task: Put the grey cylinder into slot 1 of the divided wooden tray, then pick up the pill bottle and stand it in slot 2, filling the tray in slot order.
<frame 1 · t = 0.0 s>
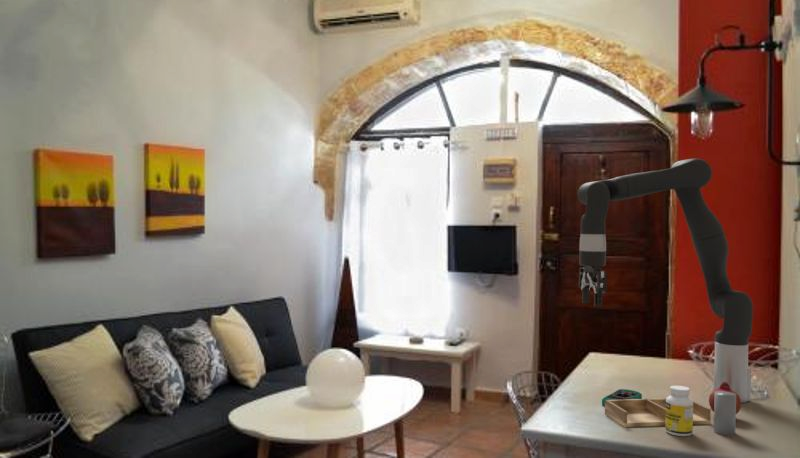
hand: (591, 304, 200), 29 cm above the table, fingers open, 8 cm apart
pill bottle: (678, 433, 173), on the table
grey cylinder: (724, 432, 174), on the table
fruit: (724, 418, 187), on the table
divided wooden tray: (656, 419, 185), on the table
digital multimeter: (622, 404, 202), on the table
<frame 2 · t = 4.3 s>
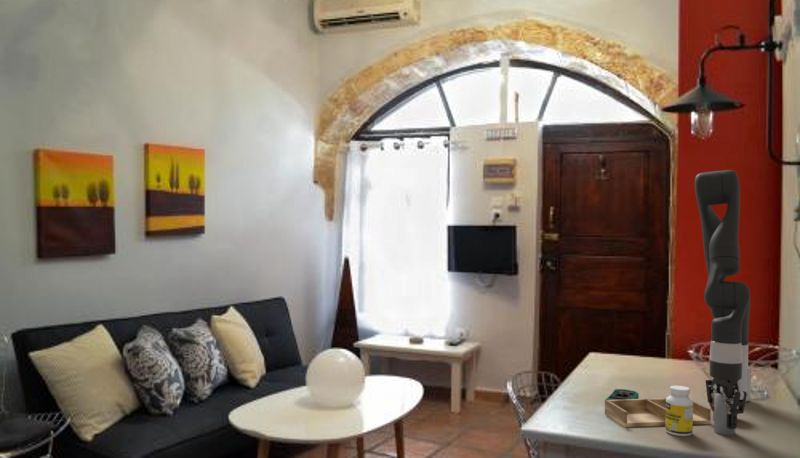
hand: (724, 425, 174), 2 cm above the table, fingers closed on grey cylinder, 5 cm apart
grey cylinder: (724, 432, 174), on the table, touching gripper
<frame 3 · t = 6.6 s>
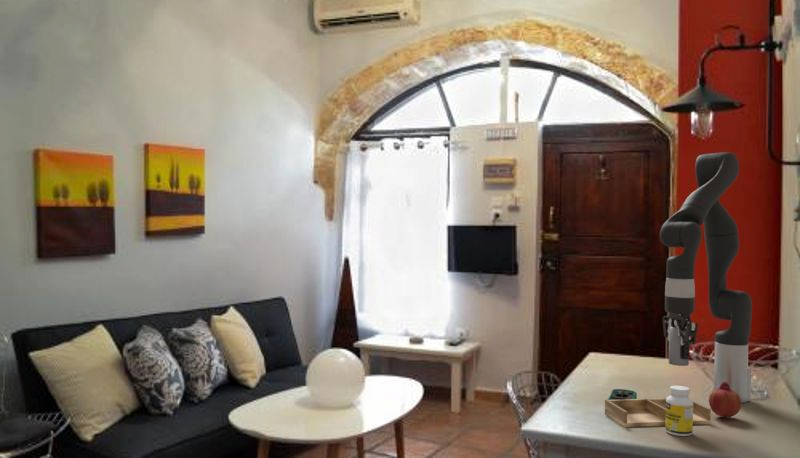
hand: (678, 356, 185), 17 cm above the table, fingers closed on grey cylinder, 5 cm apart
grey cylinder: (678, 363, 185), point 15 cm above the table, touching gripper
when the fingers open (4 cm above the table, at t = 9.3 s): grey cylinder drops 1 cm, resting on divided wooden tray.
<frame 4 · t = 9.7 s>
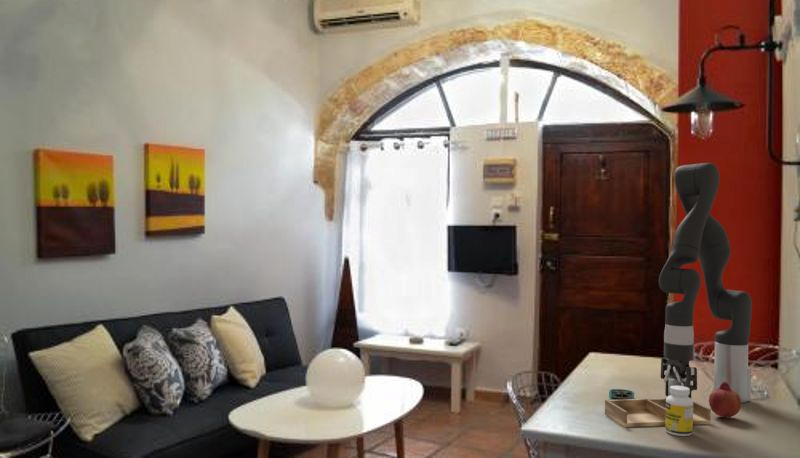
hand: (677, 400, 185), 5 cm above the table, fingers open, 8 cm apart
grey cylinder: (677, 415, 185), point 1 cm above the table, touching divided wooden tray
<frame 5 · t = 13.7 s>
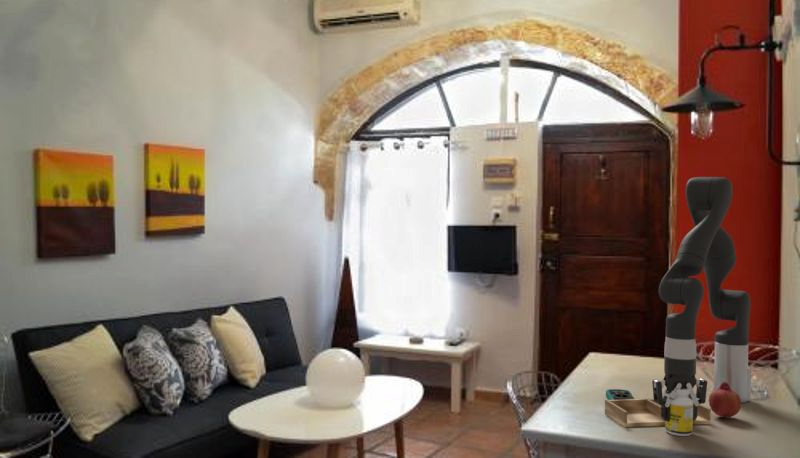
hand: (679, 420, 173), 3 cm above the table, fingers closed on pill bottle, 6 cm apart
pill bottle: (678, 433, 173), on the table, touching gripper
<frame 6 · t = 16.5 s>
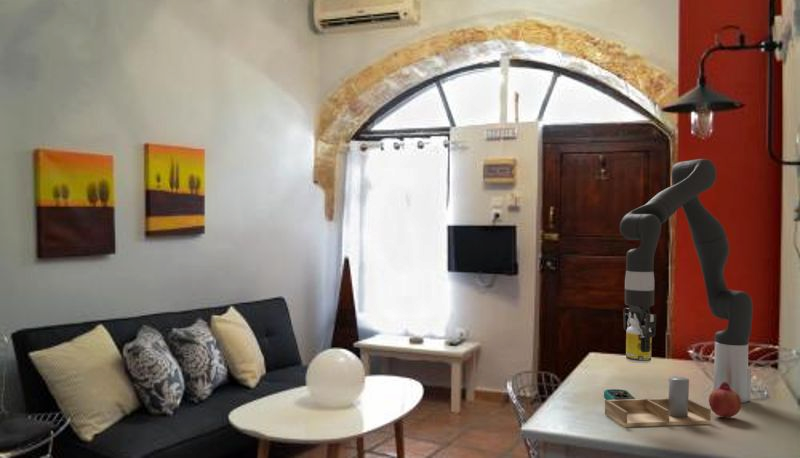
hand: (638, 349, 183), 19 cm above the table, fingers closed on pill bottle, 6 cm apart
pill bottle: (638, 362, 183), point 16 cm above the table, touching gripper
when the fingers open (6 cm above the table, at t = 19.6 s): pill bottle drops 1 cm, resting on divided wooden tray.
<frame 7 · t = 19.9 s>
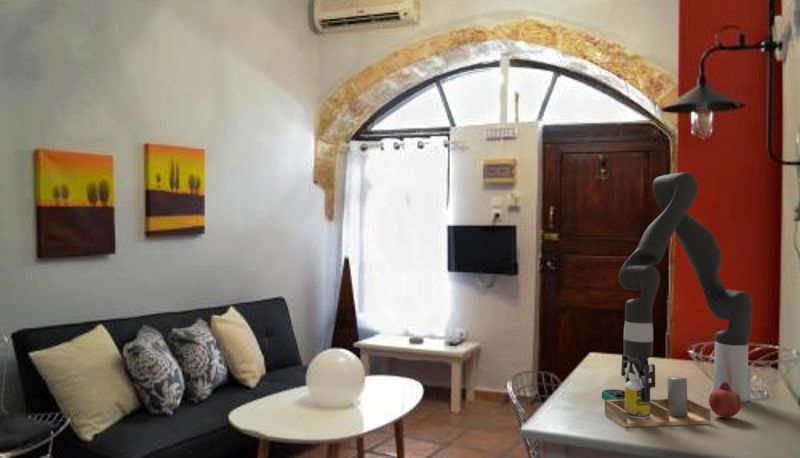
hand: (637, 397, 183), 6 cm above the table, fingers open, 8 cm apart
pill bottle: (637, 417, 184), point 1 cm above the table, touching divided wooden tray
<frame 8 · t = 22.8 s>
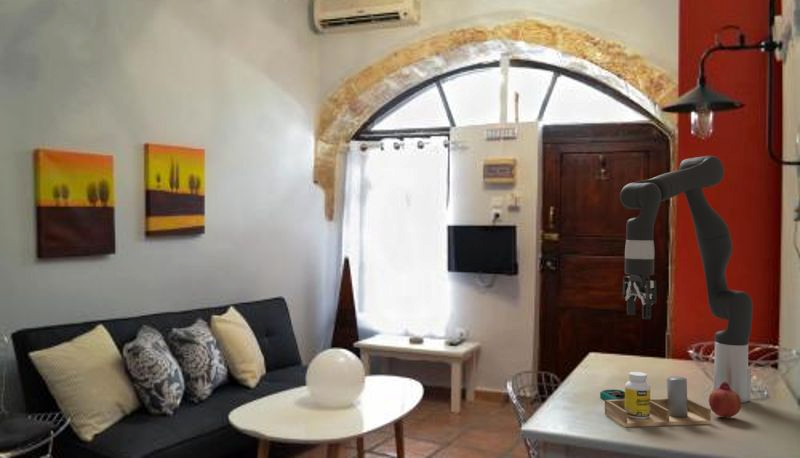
hand: (638, 316, 183), 28 cm above the table, fingers open, 8 cm apart
at the end: pill bottle inside the target area on the divided wooden tray (0.3 cm from its centre), point 0.8 cm above the divided wooden tray's base; pill bottle tilted 0°; grey cylinder inside the target area on the divided wooden tray (0.1 cm from its centre), point 1.1 cm above the divided wooden tray's base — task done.
